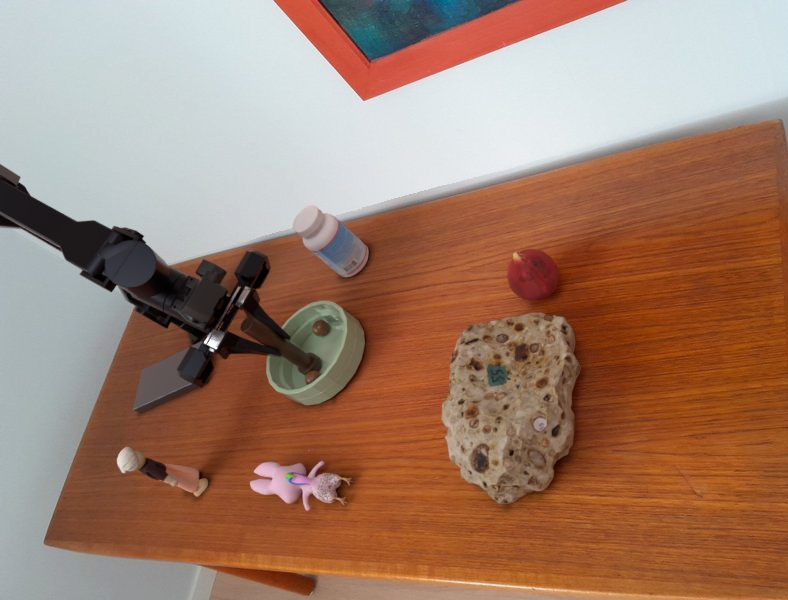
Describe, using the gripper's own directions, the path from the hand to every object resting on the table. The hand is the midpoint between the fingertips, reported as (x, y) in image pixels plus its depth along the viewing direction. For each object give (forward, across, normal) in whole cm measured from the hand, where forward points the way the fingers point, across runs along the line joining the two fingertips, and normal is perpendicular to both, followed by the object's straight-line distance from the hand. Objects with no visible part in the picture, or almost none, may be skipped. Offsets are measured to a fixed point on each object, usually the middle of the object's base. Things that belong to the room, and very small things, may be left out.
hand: (285, 347), depth 87 cm
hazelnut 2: (+5, -2, +4) cm, 6 cm away
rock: (+29, +2, -18) cm, 34 cm away
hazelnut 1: (+2, +6, +6) cm, 9 cm away
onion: (+26, +18, -15) cm, 35 cm away
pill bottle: (+2, +18, +10) cm, 20 cm away
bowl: (+5, +2, +6) cm, 8 cm away
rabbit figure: (+11, -15, 0) cm, 19 cm away
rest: (-18, -9, +29) cm, 35 cm away
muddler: (+4, 0, +6) cm, 7 cm away
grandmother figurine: (-4, -21, +15) cm, 27 cm away
